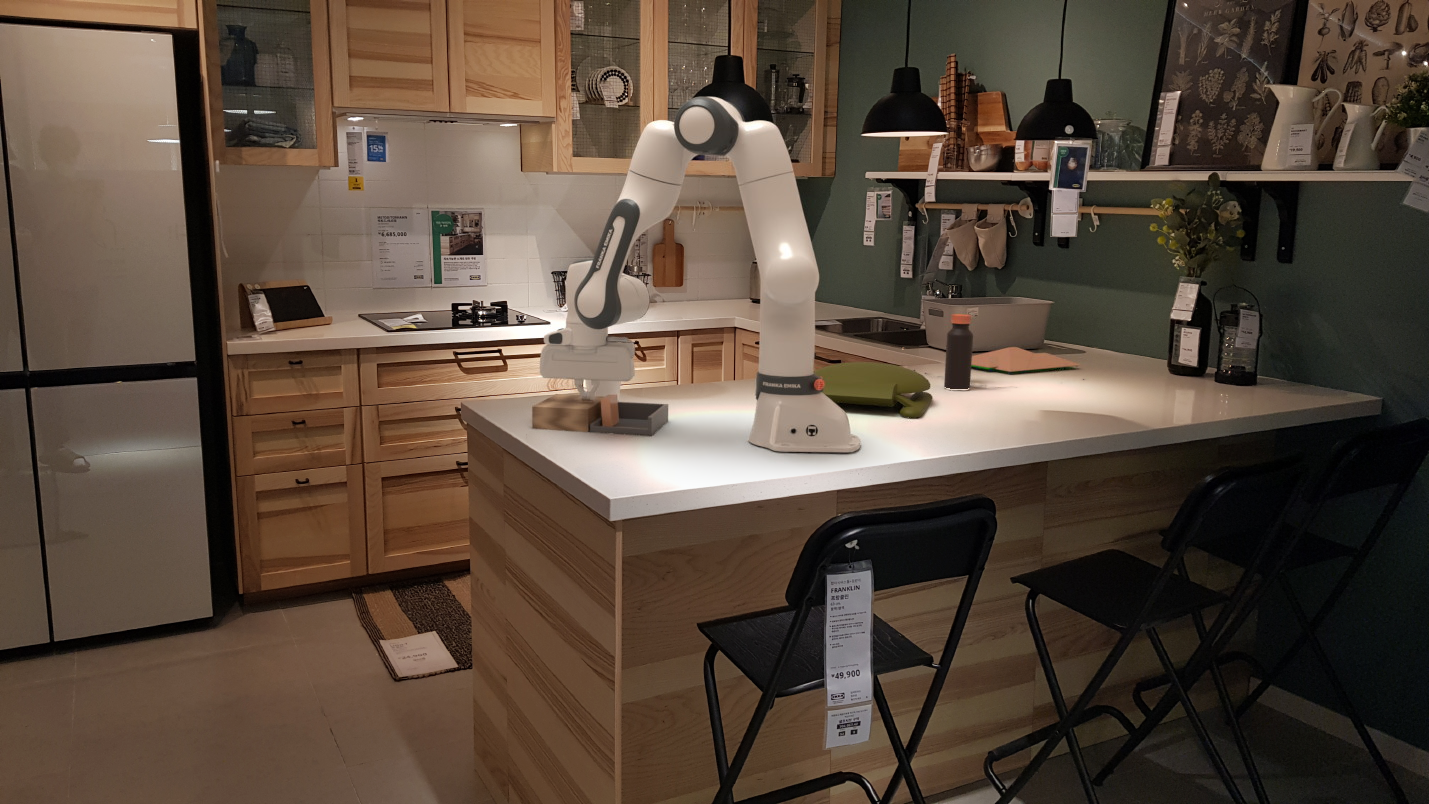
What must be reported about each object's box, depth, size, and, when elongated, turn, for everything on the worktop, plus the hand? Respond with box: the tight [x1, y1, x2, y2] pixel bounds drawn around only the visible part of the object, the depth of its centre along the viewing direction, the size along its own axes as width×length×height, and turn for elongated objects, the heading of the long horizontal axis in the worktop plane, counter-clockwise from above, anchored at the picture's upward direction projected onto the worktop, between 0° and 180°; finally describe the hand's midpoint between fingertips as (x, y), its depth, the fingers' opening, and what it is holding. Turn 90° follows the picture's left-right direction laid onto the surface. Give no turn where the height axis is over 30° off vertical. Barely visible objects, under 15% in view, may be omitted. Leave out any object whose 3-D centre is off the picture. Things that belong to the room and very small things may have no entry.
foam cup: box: [585, 380, 622, 402], centre depth 246 cm, size 10×9×13 cm
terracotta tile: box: [601, 394, 619, 427], centre depth 230 cm, size 6×6×2 cm
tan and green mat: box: [971, 346, 1081, 375], centre depth 322 cm, size 23×33×8 cm
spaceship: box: [814, 361, 934, 419], centre depth 266 cm, size 35×31×10 cm
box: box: [589, 401, 669, 437], centre depth 229 cm, size 13×16×4 cm
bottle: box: [943, 313, 974, 389], centre depth 287 cm, size 7×7×20 cm
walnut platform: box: [531, 393, 605, 433], centre depth 231 cm, size 12×16×5 cm
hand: (587, 400), depth 230 cm, fingers closed
